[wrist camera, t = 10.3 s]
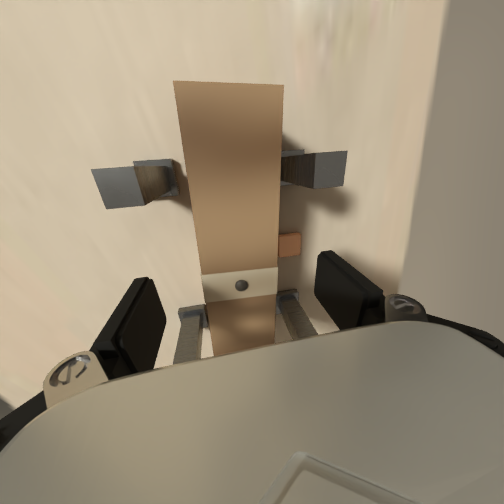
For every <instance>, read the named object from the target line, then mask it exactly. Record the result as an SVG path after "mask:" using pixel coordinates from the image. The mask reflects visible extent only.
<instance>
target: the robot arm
mask: <svg viewBox="0 0 504 504" xmlns="http://www.w3.org/2000/svg"><path fill="white" fill-rule="evenodd" d="M314 294H315V296H316V298H317V299H318V300H319V302H320V303H321V305H322V306H323V307H324V309H325V310H326V311H327V313H328V314H329V315H330V317H331V318H332V320H333V321H334V322H335V324H336V325H337V326H338V328H339V329H340V331H335V332H330V333H325V334H320V335H315V336H310V337H305V338H300V339H295V340H290V341H285V342H280V343H275V344H270V345H265V346H260V347H255V348H251V349H246V350H241V351H236V352H231V353H226V354H222V355H217V356H212V357H207V358H203V359H198V360H193V361H188V362H184V363H179V364H174V365H170V366H165V367H161V368H156V369H153V368H154V365H155V361H156V357H157V354H158V350H159V347H160V343H161V340H162V336H163V333H164V329H165V325H166V315H165V312H164V310H163V307H162V304H161V301H160V298H159V295H158V293H157V290H156V287H155V284H154V281H153V280H152V279H149V278H148V277H142V278H136V279H134V281H133V282H132V284H131V285H130V287H129V289H128V290H127V292H126V293H125V295H124V296H123V298H122V299H121V301H120V303H119V304H118V306H117V307H116V309H115V310H114V312H113V314H112V315H111V317H110V318H109V320H108V321H107V323H106V324H105V326H104V328H103V329H102V331H101V332H100V334H99V335H98V337H97V339H96V340H95V342H94V343H93V346H92V347H91V349H90V350H89V351H83V352H79V353H76V354H73V355H71V356H69V357H67V358H66V359H64V360H63V361H61V362H60V363H59V364H57V365H56V366H55V367H54V368H53V369H52V370H51V371H50V372H49V373H48V375H47V376H46V378H45V380H44V382H43V391H42V392H40V393H39V394H37V395H36V396H35V397H33V398H32V399H30V400H29V401H27V402H26V403H24V404H23V405H21V406H20V407H18V408H17V409H15V410H14V411H13V412H11V413H10V414H8V415H7V416H5V417H4V418H2V419H1V420H0V504H504V343H502V342H501V341H500V340H499V339H497V338H495V337H494V336H493V335H491V334H489V333H487V332H485V331H483V330H479V329H476V328H473V327H470V326H466V325H463V324H459V323H456V322H453V321H449V320H445V319H442V318H439V317H435V316H432V315H429V314H426V311H425V309H424V307H423V306H422V305H421V304H420V303H419V302H418V301H416V300H415V299H412V298H410V297H408V296H404V295H400V294H391V295H388V296H386V297H385V296H384V295H383V290H382V289H380V288H379V287H378V286H377V285H375V284H374V283H373V282H371V281H370V280H369V279H368V278H366V277H365V276H364V275H363V274H361V273H360V272H359V271H357V270H356V269H355V268H354V267H352V266H351V265H350V264H349V263H347V262H346V261H345V260H344V259H342V258H341V257H340V256H338V255H337V254H336V253H335V252H333V251H332V250H329V251H322V252H321V253H320V254H319V255H318V258H317V268H316V278H315V287H314Z"/></svg>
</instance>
